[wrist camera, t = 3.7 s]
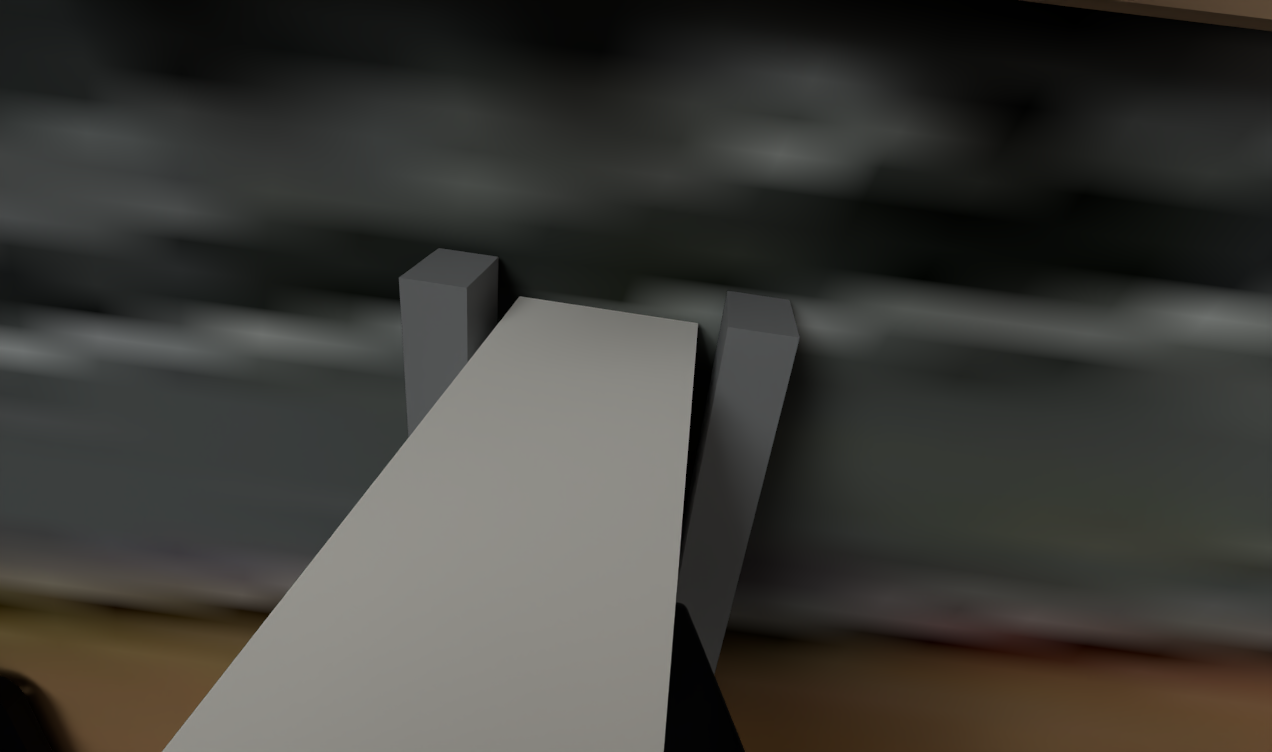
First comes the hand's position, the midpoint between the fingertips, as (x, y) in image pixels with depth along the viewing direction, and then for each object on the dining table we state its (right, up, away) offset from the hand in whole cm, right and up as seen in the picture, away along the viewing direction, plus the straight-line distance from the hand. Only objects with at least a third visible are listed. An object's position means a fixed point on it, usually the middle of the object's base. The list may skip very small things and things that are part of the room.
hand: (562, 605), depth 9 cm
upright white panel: (0, +1, +2) cm, 2 cm away
